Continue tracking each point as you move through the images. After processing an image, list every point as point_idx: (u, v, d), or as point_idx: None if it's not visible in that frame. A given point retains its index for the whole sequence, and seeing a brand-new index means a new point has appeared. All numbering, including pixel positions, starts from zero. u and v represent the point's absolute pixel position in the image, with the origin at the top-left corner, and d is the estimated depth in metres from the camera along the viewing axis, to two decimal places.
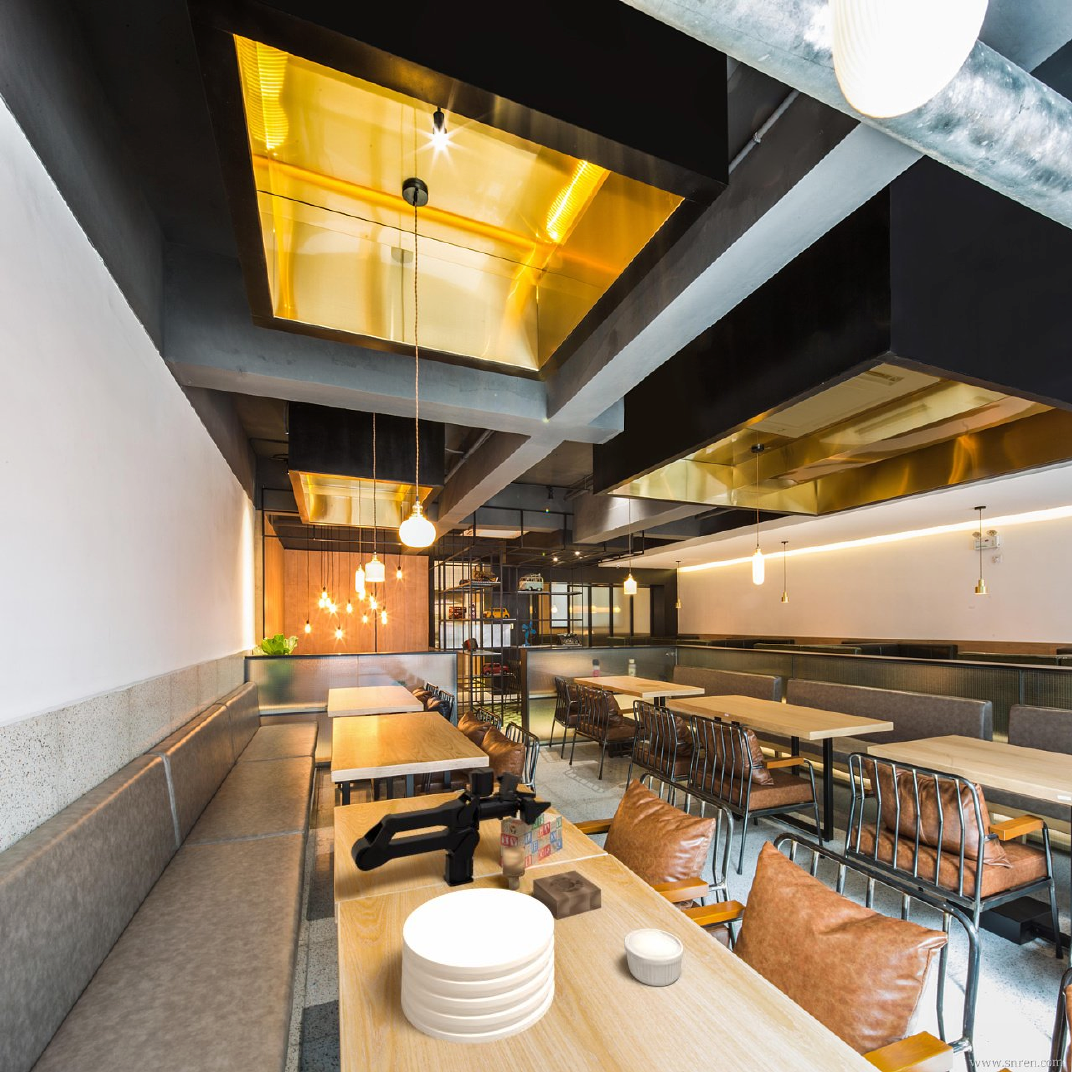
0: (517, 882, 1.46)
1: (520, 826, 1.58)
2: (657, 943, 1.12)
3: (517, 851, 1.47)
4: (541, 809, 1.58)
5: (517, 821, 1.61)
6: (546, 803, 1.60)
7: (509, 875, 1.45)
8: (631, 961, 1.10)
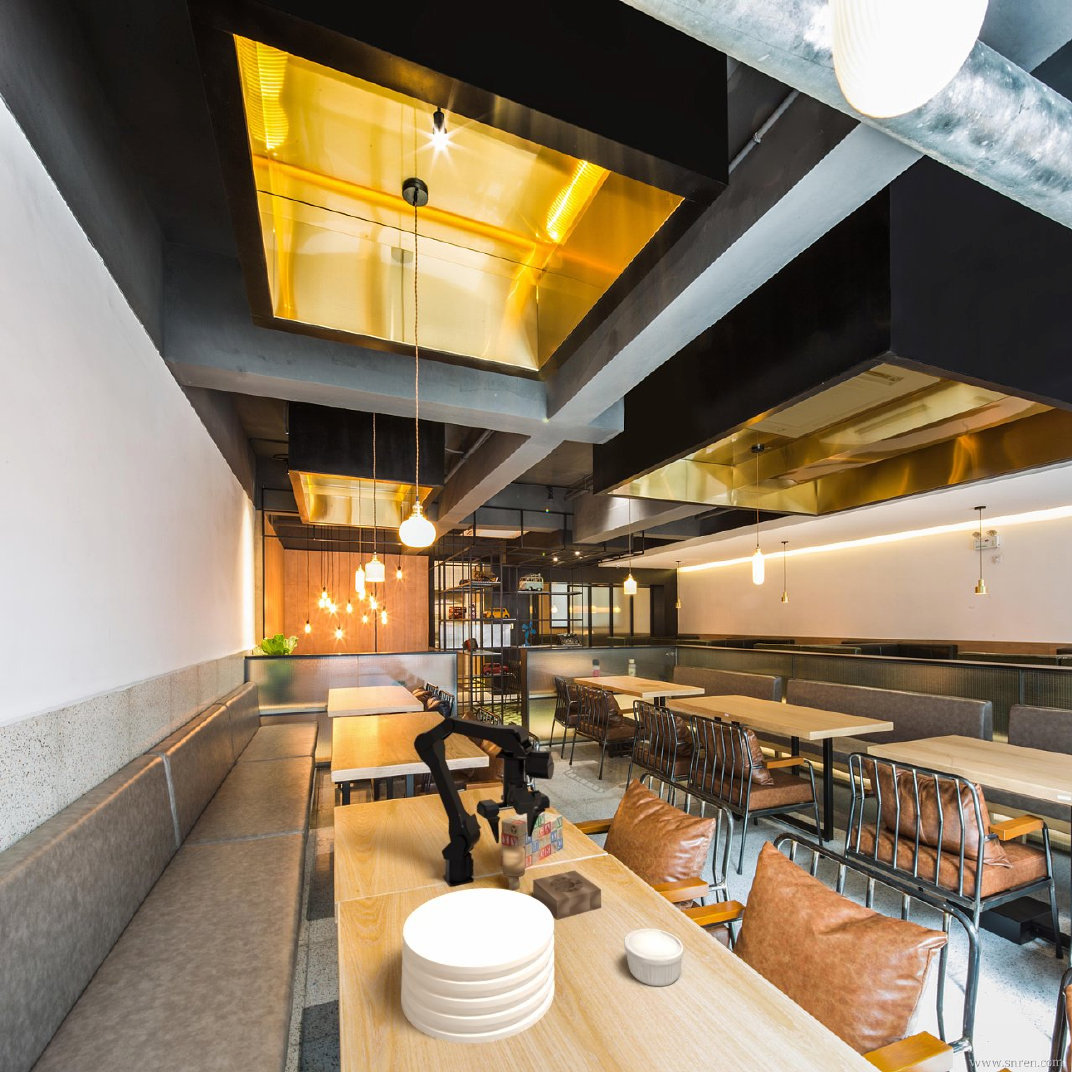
0: (517, 882, 1.46)
1: (520, 826, 1.58)
2: (657, 943, 1.12)
3: (517, 851, 1.47)
4: (492, 827, 1.47)
5: (517, 821, 1.61)
6: (495, 836, 1.46)
7: (509, 875, 1.45)
8: (631, 961, 1.10)
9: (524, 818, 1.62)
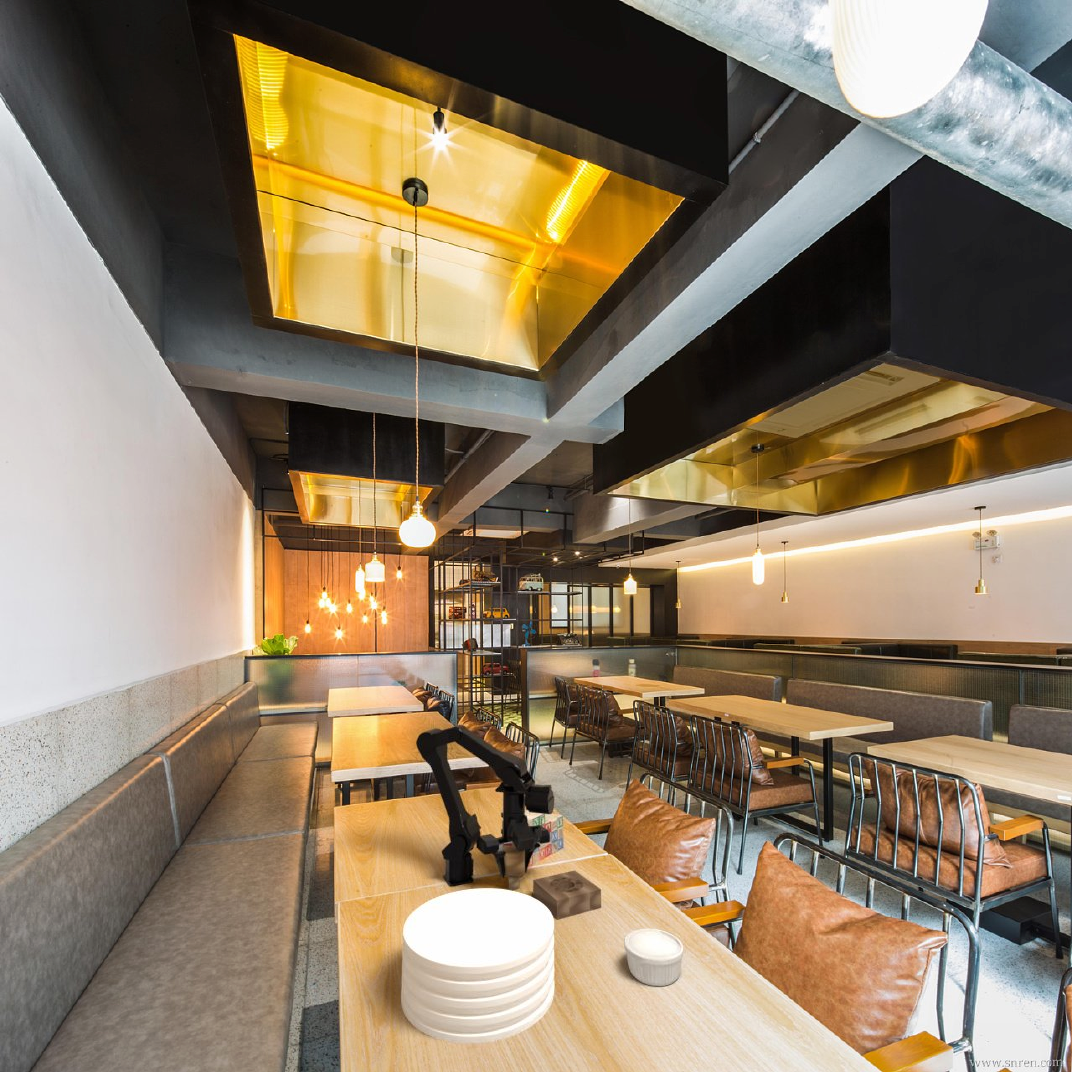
0: (517, 882, 1.46)
1: None
2: (657, 943, 1.12)
3: (517, 851, 1.47)
4: (497, 862, 1.46)
5: None
6: (501, 871, 1.45)
7: (509, 875, 1.45)
8: (631, 961, 1.10)
9: None
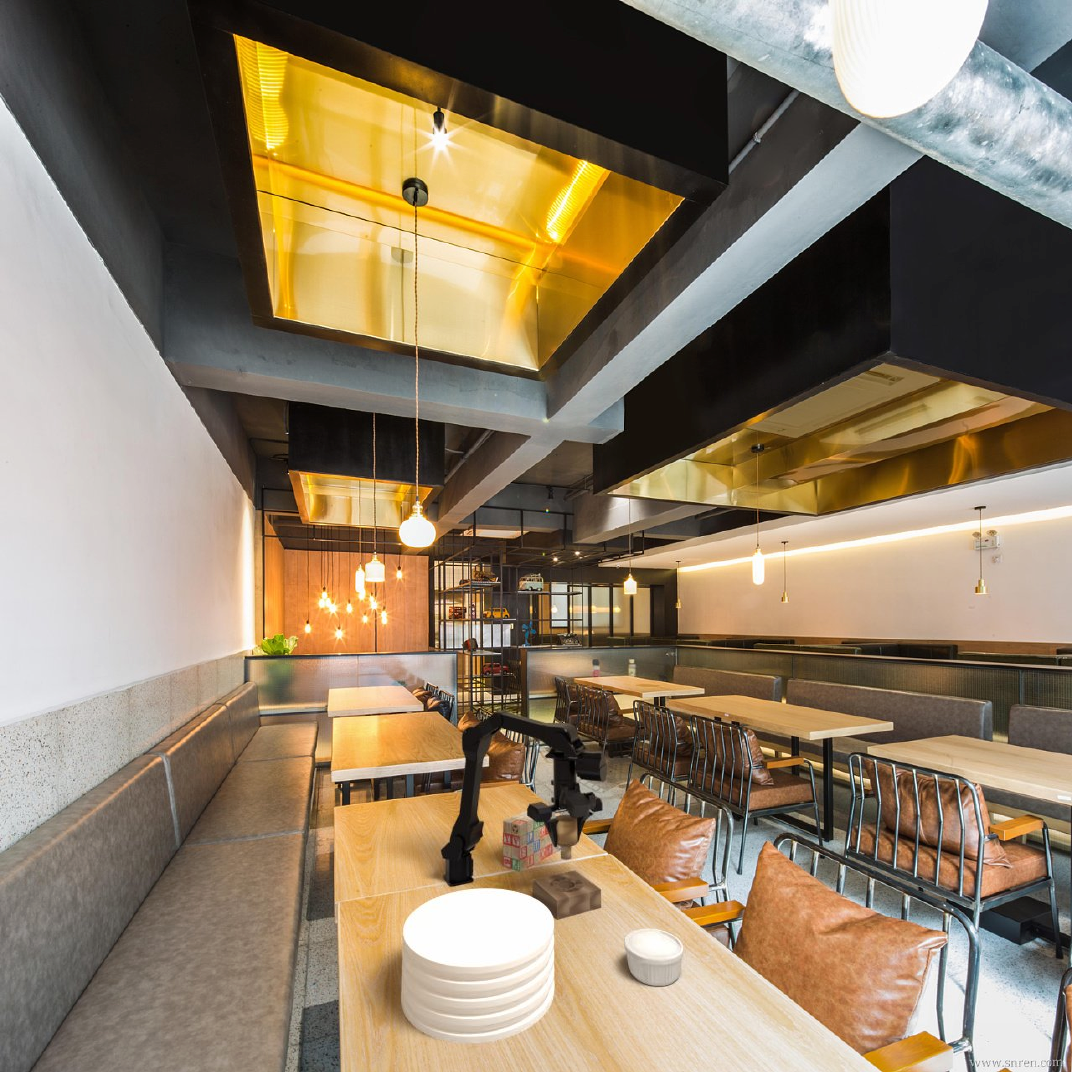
0: (570, 851, 1.40)
1: (522, 825, 1.58)
2: (657, 943, 1.12)
3: (569, 819, 1.41)
4: (549, 831, 1.40)
5: (519, 821, 1.61)
6: (553, 840, 1.39)
7: (562, 844, 1.38)
8: (631, 961, 1.10)
9: (526, 818, 1.63)
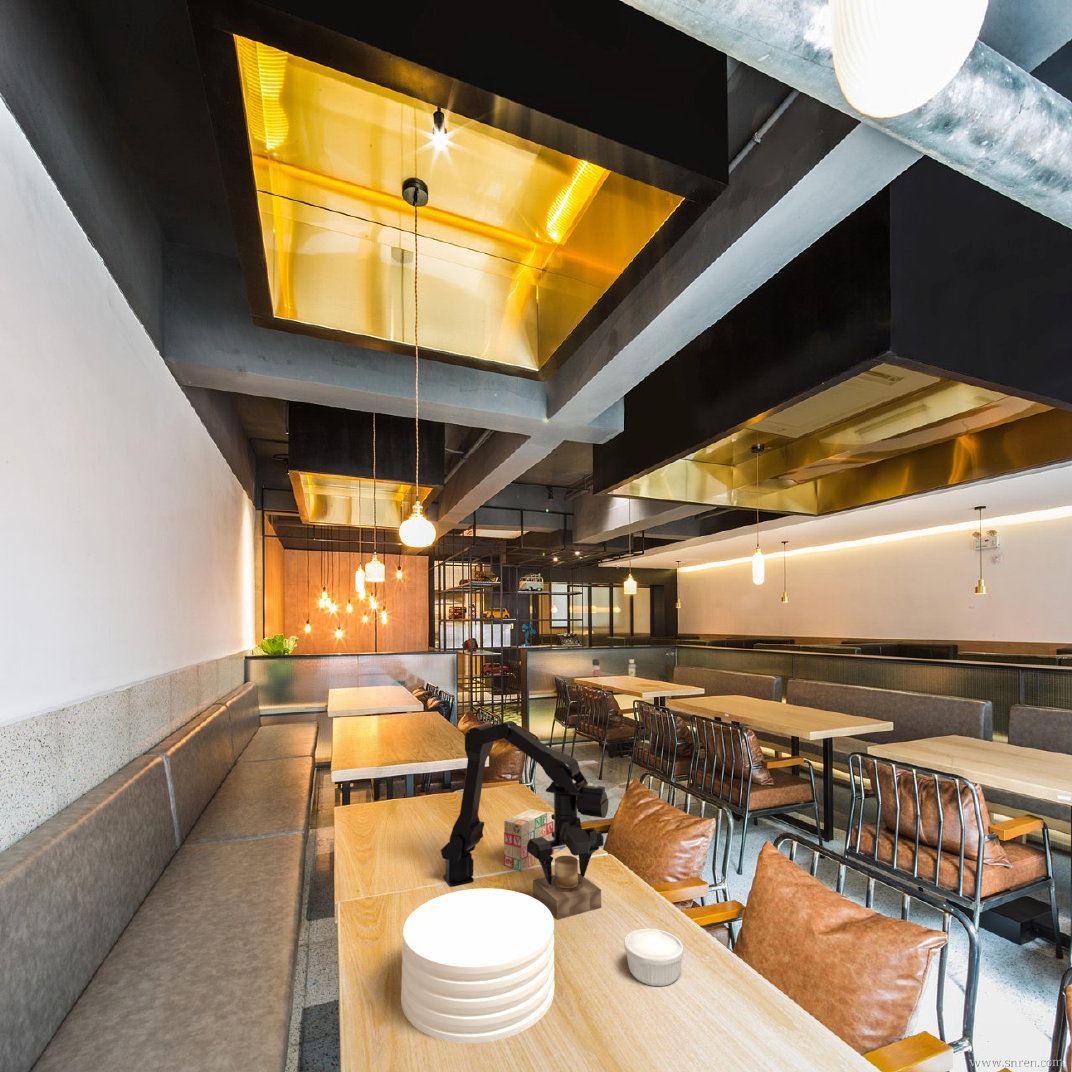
0: None
1: (523, 825, 1.59)
2: (657, 943, 1.12)
3: (570, 861, 1.39)
4: (544, 868, 1.38)
5: (520, 820, 1.61)
6: (548, 877, 1.37)
7: (562, 887, 1.37)
8: (631, 961, 1.10)
9: (527, 817, 1.63)
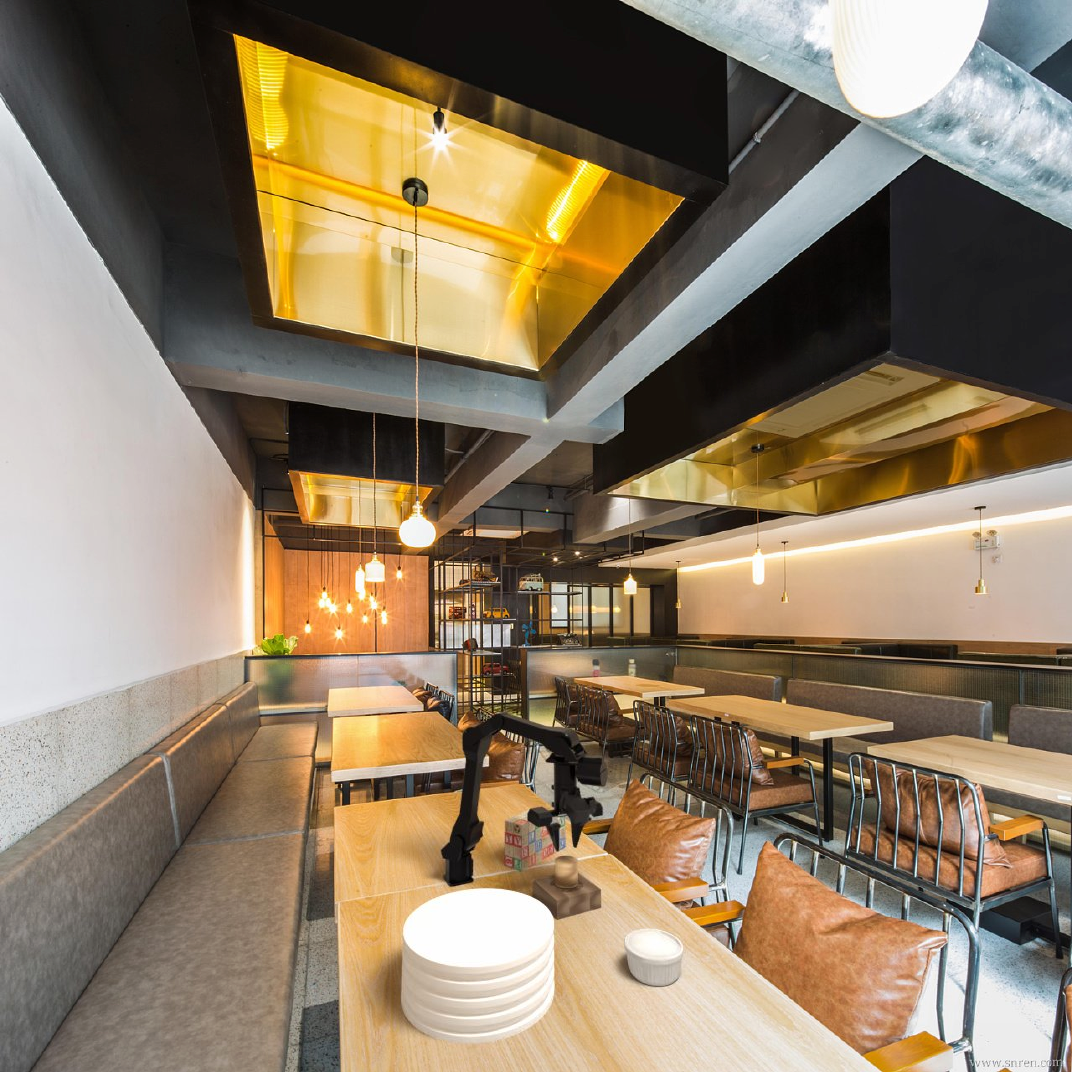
0: None
1: (524, 825, 1.59)
2: (657, 943, 1.12)
3: (570, 861, 1.39)
4: (551, 835, 1.40)
5: (521, 820, 1.61)
6: (555, 844, 1.39)
7: (562, 887, 1.37)
8: (631, 961, 1.10)
9: None
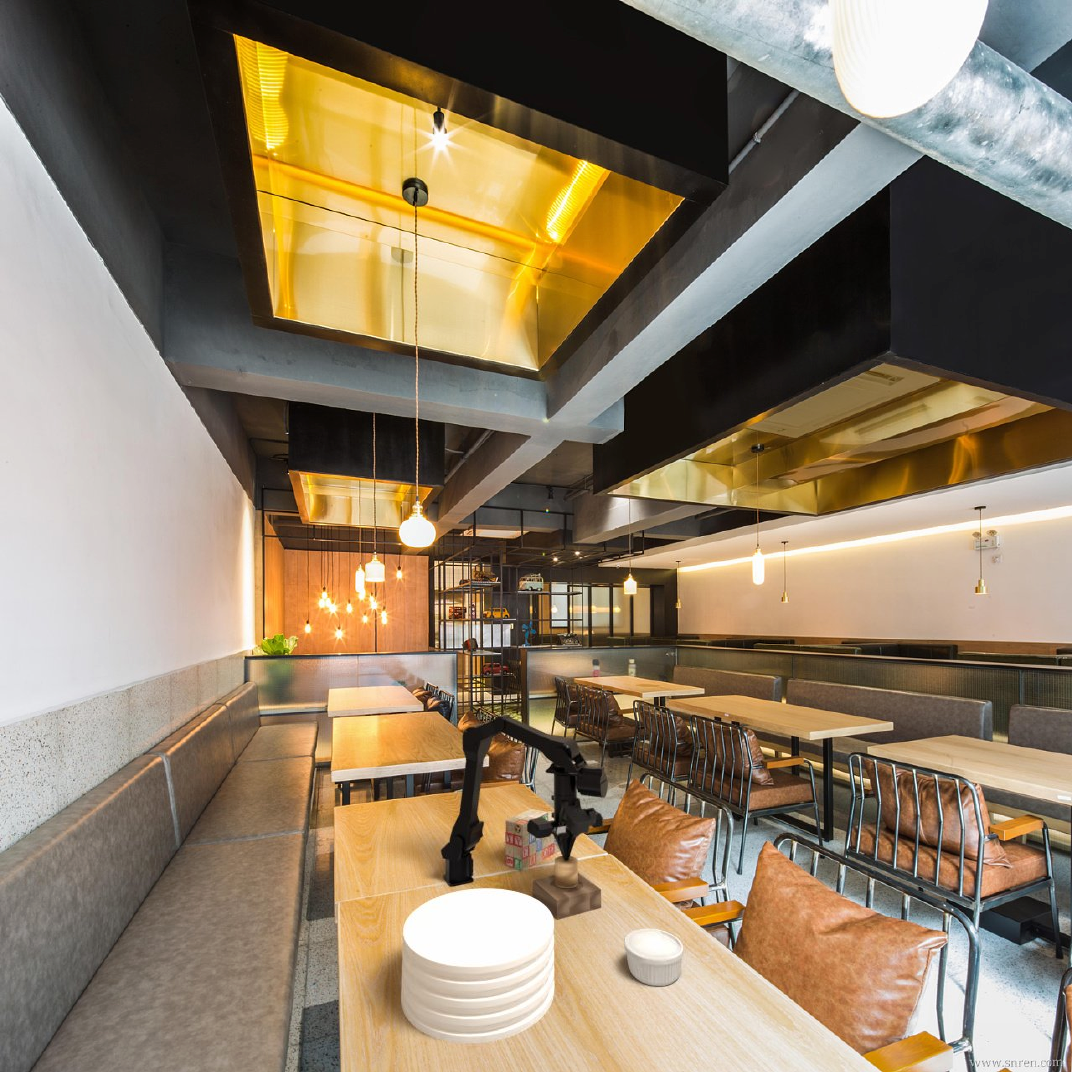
0: None
1: (524, 825, 1.59)
2: (657, 943, 1.12)
3: (570, 861, 1.39)
4: (559, 844, 1.41)
5: (521, 820, 1.61)
6: (563, 854, 1.40)
7: (562, 887, 1.37)
8: (631, 961, 1.10)
9: (528, 817, 1.63)
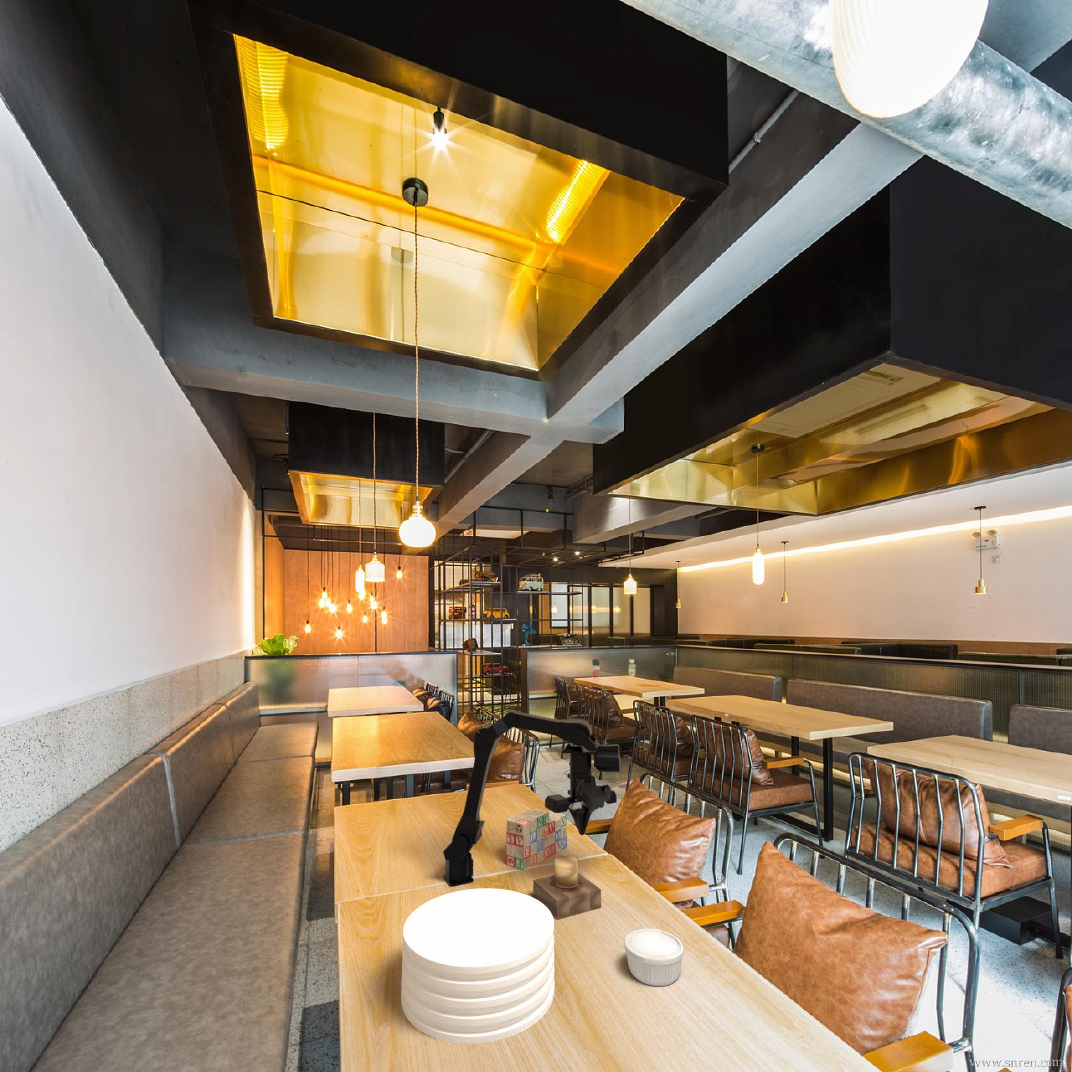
0: None
1: (526, 825, 1.59)
2: (657, 943, 1.12)
3: (570, 861, 1.39)
4: (575, 820, 1.48)
5: (522, 820, 1.62)
6: (579, 828, 1.47)
7: (562, 887, 1.37)
8: (631, 961, 1.10)
9: (529, 817, 1.63)
